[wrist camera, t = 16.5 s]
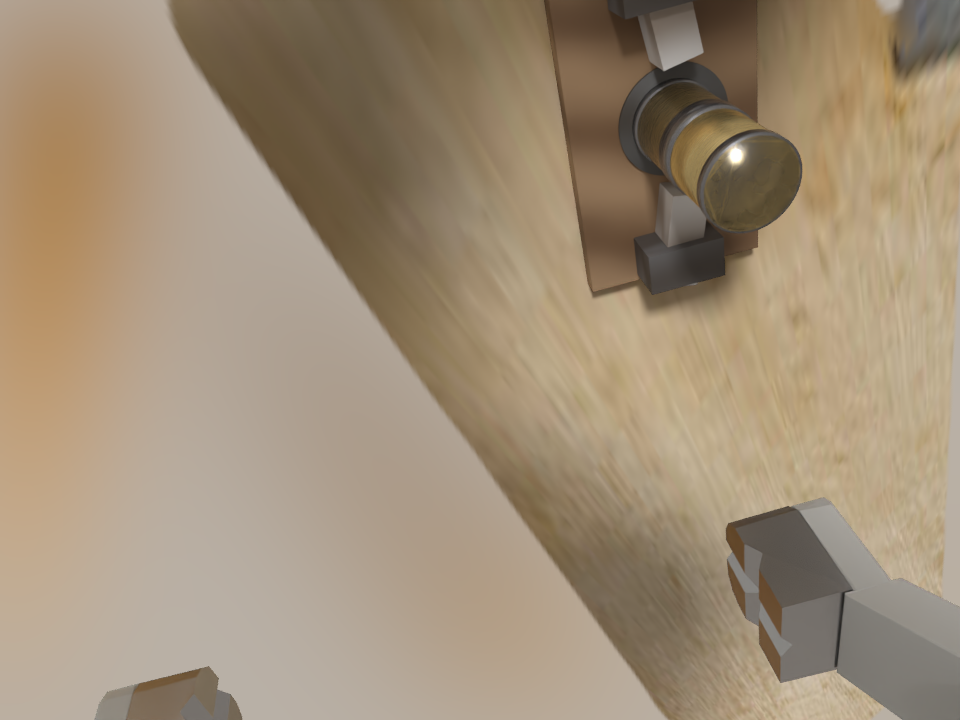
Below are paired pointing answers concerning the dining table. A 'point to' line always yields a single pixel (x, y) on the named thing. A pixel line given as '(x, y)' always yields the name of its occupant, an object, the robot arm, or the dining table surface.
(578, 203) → the board
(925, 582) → the dining table surface
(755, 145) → the yellow and grey cylinder
